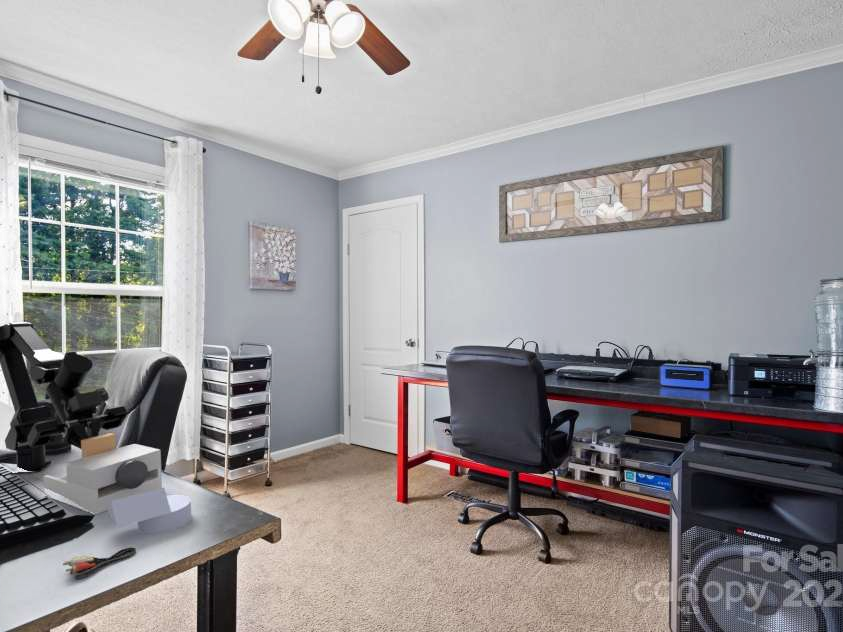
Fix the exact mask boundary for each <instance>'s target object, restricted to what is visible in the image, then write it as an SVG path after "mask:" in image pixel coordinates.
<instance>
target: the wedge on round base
mask: <svg viewBox="0 0 843 632" xmlns="http://www.w3.org/2000/svg"><path fill="white" fill-rule="evenodd" d="M191 500H192V499H191V497H190V496H188V495H185V494H171V495H170V494H169V495H167V493H166V490H165V487H163V486H162V488H160V489H156V490H152V491H148V492H144V493H140V494H136V495H133V496H129V497H125V498H121V499H117V500H113V501H111V504H110V506H109V509H108V510H107V512H108V515H109V516H110V518H111V519H112V521H113V524H114V525H115V526H116V528H117V529H118V528H123V527H126V526H129V525H133V524H135V523H137V529H138V531H139V532H140V533H145V534H160V533H167V532H171V531H173V530H176V529H179V528H180V526H181V527H183V526H184V524H185V525H186V524H188V523H189V522H190V521H191V519H192V501H191ZM190 518H191V519H190ZM189 520H190V521H189ZM188 521H189V522H188ZM182 525H183V526H182ZM178 527H179V528H178Z"/></svg>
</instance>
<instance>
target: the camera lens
mask: <svg viewBox="0 0 843 632" xmlns="http://www.w3.org/2000/svg"><path fill="white" fill-rule="evenodd" d="M37 401H38V404H40V405H41V406H48V407H49V408H50V412H51V415H52V417H53V419H55V420H57V422H58V425H59V424H62V422H61V420H60V418H59V417H57V418H56V417H55V415H54V414H55V412H56V410H55V408H54V406H53V404H52V402H51V400H50V399H45V398H44V399H40V400H37ZM63 438H64V437H63V435H62V433H61V434H57V435H55V438H54V442H48V443H47V445H45V455H46V457H47V456H49V457H51V456H57V455H61V454H65V453H67V452H70V451H71V450H72V445H71V444H69V443H62V440H63Z"/></svg>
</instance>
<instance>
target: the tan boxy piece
mask: <svg viewBox="0 0 843 632" xmlns="http://www.w3.org/2000/svg"><path fill="white" fill-rule="evenodd" d="M116 447H117V443H116V434H115V433H111V432H109V433H105V434H100V435H98V436H96V437H92V438H88V439H84V440H81V449H80V450H81V458H85V457H88V456H92V455H96V454H99V453H103V452H106V451H110V450H113V449H117V448H116ZM116 483H117V482H116ZM113 484H115V483H113ZM110 485H112V484H110ZM107 486H109V485H107ZM107 486H104V487H107ZM104 487H101V488H104ZM101 488H98V489H101Z"/></svg>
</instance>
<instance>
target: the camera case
mask: <svg viewBox="0 0 843 632" xmlns="http://www.w3.org/2000/svg"><path fill="white" fill-rule="evenodd" d="M161 454H162V453H161V449H159V448H154V447H150V446H146V445H141V444H137V443H133V444H129V445H125V446H121V447H118V448H116V449H113V450H110V451H106V452H103V453H99V454H96V455H92V456H88V457H85V458H82V457H81V458H78V459H74V460H71V461H67V462H66V464H65V466H66V476H62V477H56V476H52V475H49V474H46V475H43V489H44V488H46V489H49V490H51V491H53V492H55V493H58V494H60V495H62V496H64V497H65V498H68V499H69V500H71V501H73V502H75V503H76V504H78V505H79V506H81V507H83V508H84V509H86V510H88V511H89V512H92V513H94V514H95V515H94V516H96V515H98V514H101V513H103V512H105V511H106V512H107V511H108V509H109V506H110V504H111V501H113V500H117V499H121V498H125V497H129V496H133V495H136V494H140V493H144V492H148V491H152V490H156V489H160V488H163V480H162V477H163V476H162V455H161ZM116 482H117V483H116ZM113 483H115V484H113ZM110 484H112V485H110ZM107 485H109V486H107ZM104 486H107V487H104ZM101 487H104V488H101ZM98 488H101V489H98Z"/></svg>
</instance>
